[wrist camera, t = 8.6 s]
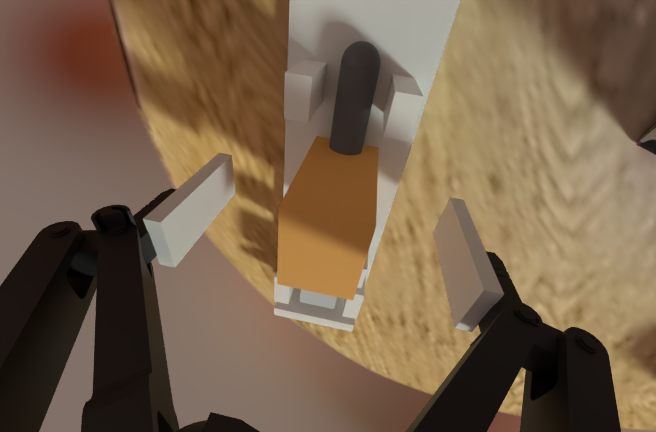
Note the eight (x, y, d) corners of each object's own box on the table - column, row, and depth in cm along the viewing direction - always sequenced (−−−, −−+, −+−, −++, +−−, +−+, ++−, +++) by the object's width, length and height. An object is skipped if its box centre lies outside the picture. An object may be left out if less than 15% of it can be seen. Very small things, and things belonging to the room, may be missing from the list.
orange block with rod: (327, 33, 14) (282, 50, 8) (404, 46, 14) (423, 74, 8) (302, 273, 26) (275, 359, 19) (343, 282, 25) (330, 372, 19)
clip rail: (300, -137, 11) (257, -215, 8) (492, -111, 11) (552, -178, 7) (283, 277, 28) (266, 320, 24) (360, 293, 28) (356, 340, 24)
